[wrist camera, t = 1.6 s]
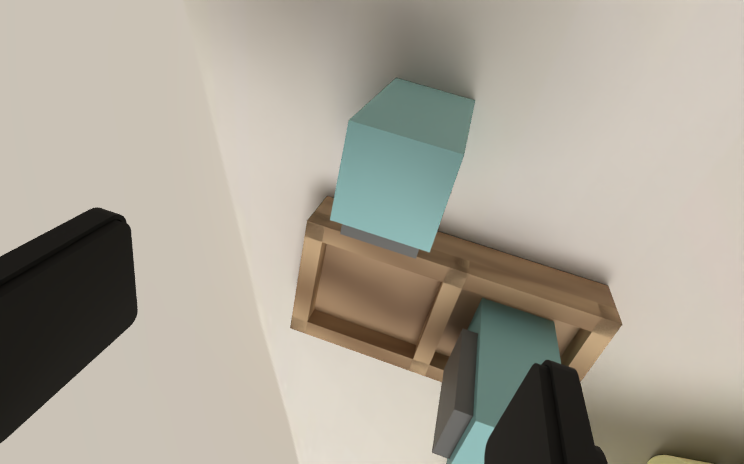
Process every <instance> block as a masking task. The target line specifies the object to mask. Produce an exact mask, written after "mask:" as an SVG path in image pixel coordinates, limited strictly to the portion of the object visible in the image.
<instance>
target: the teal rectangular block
mask: <svg viewBox="0 0 744 464" xmlns="http://www.w3.org/2000/svg"><path fill="white" fill-rule="evenodd" d="M474 103H475V100H472V99H469V98H465V97H462V96H458V95H455V94H451V93H448V92H444V91H440V90H437V89H433V88H430V87H426V86H423V85H419V84H416V83H412V82H409V81H405V80H402V79H398V78H395V79H394V80H393V81H392V82H391V83H390V84H389V85H388V86H387V87H385V88H384V89H383V90H382V91H381V92H380V93H379V94H378V95H376V96H375V97H374V98H373V99H372V100H371V101H370V102H369V103H368V104H366V105H365V106H364V107H363V108H362V109H361V110H360V111H359V112H358V113H356V114H355V115H354V116H353V117H352V118H351V119H350V120H349V122H348V127H347V133H346V138H345V143H344V148H343V154H342V159H341V164H340V169H339V175H338V180H337V185H336V190H335V196H334V201H333V206H332V211H331V217H330V220H331V221H335V222H338V223H341V224H342V227H341V232H340V234H342V235H345V236H348V237H351V238H354V239H357V240H360V241H363V242H366V243H369V244H372V245H375V246H378V247H381V248H384V249H387V250H390V251H394V252H397V253H400V254H403V255H406V256H409V257H412V258H415V259H416V257H417V254H418V251H419V249H421V250H424V251H427V252H430V250H431V247H432V244H433V242H434V239H435V236H436V233H437V230H438V227H439V225H440V222H441V219H442V216H443V213H444V210H445V208H446V205H447V202H448V199H449V196H450V193H451V191H452V188H453V185H454V182H455V179H456V176H457V174H458V171H459V168H460V165H461V162H462V159H463V157H464V153H465V148H466V143H467V138H468V133H469V128H470V123H471V118H472V113H473V108H474Z"/></svg>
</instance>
